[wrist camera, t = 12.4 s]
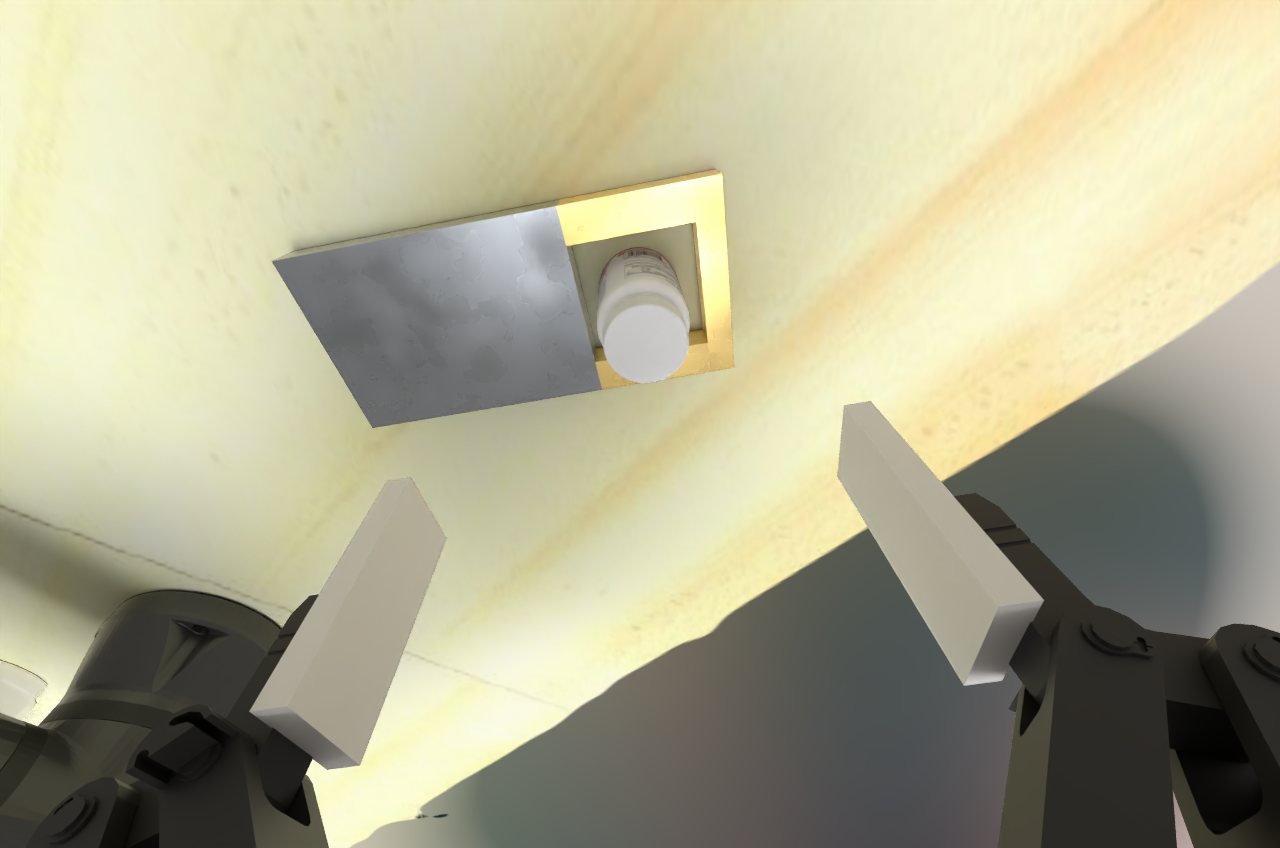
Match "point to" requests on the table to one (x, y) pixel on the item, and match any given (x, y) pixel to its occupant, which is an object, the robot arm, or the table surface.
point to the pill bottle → (642, 316)
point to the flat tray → (497, 301)
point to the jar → (18, 690)
